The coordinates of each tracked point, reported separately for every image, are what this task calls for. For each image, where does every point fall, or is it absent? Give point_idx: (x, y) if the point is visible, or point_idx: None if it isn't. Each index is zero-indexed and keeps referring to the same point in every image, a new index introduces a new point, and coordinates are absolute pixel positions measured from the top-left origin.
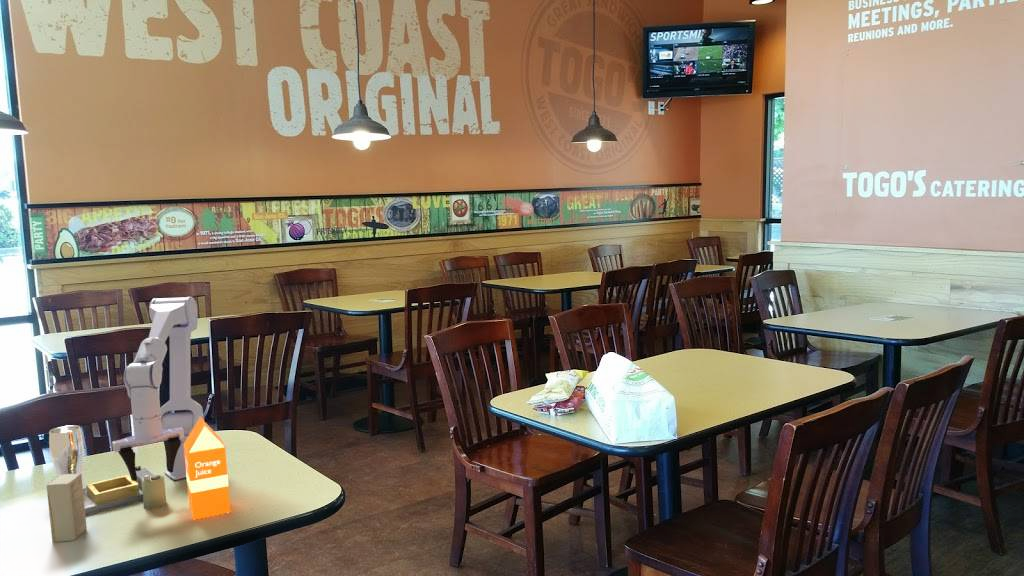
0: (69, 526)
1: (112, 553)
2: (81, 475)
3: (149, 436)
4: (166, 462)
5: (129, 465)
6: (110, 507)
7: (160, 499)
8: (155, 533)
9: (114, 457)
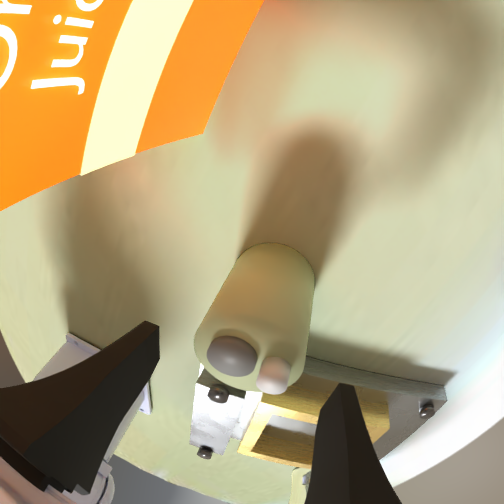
0: None
1: None
2: (299, 492)
3: None
4: (139, 392)
5: (382, 473)
6: (367, 374)
7: (265, 257)
8: (443, 10)
9: (193, 483)
